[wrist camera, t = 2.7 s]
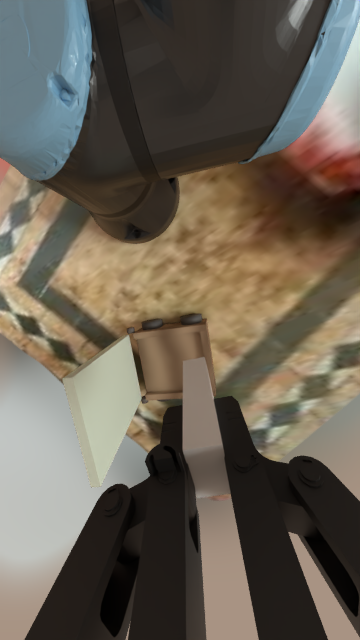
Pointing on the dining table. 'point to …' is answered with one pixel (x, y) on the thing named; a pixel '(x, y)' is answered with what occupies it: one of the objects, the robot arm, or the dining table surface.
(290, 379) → the dining table surface
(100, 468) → the panel
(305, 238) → the dining table surface
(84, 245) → the dining table surface
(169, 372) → the flatbed cart
